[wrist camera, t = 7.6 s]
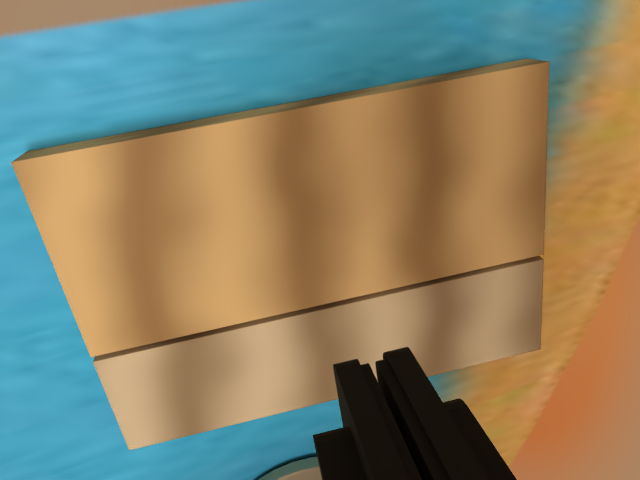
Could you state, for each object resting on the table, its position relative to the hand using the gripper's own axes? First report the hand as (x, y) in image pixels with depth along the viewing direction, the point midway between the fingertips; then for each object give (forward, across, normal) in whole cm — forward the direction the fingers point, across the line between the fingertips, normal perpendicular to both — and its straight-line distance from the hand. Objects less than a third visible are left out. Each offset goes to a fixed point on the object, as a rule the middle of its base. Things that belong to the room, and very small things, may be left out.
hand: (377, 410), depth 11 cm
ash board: (+17, -1, +9) cm, 19 cm away
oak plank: (+16, -1, 0) cm, 16 cm away
